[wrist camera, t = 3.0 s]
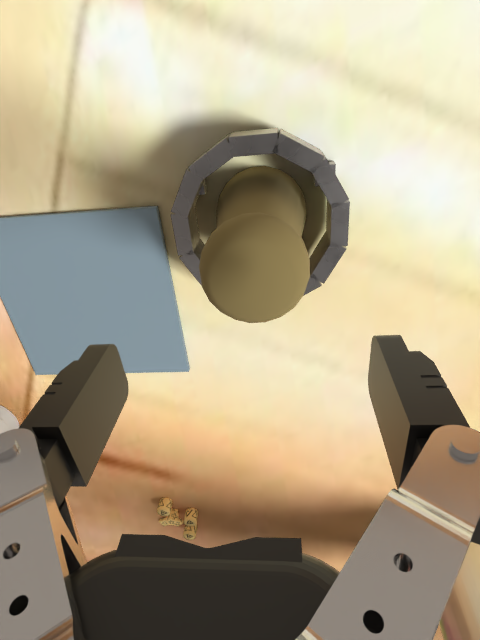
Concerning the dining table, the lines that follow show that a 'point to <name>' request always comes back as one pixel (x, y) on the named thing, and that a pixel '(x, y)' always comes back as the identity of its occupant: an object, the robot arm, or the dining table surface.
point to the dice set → (173, 518)
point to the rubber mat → (91, 288)
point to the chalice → (7, 420)
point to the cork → (257, 247)
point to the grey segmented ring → (259, 144)
